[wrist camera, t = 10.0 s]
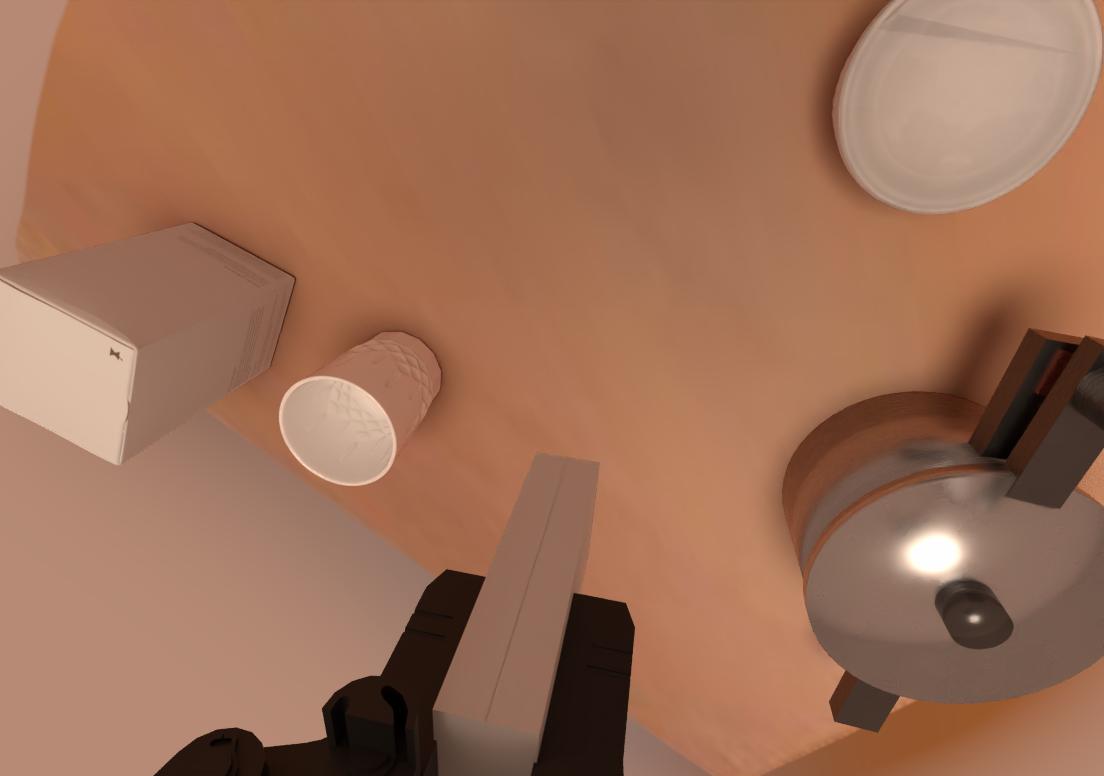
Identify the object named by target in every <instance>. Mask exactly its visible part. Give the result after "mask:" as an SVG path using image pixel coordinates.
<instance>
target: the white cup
mask: <svg viewBox="0 0 1104 776" xmlns="http://www.w3.org/2000/svg"><path fill="white" fill-rule="evenodd" d="M440 386H441V369H440V367H439V365H438V362H437V360H436V357H435V355H434V353H433V352H432V351H431V350H430V349H429V348H428V347H427V346H426V345H425V344H424V343H423V342H422V341H421V340H420V339H418V338H415V337H413V336H411V335H408V334H406V333H404V332H382V333H380V334H378V335H376V336H375V337H373V338H371V339H369V340H368V341H366V342H365V343H363V344H361V345H357V346H355V347H353V348H352V349H350V350H348V351H346V352H345V353H343V354H341V355H340V356H338V357H337V358H335V359H334V360H332V361H330V362H329V363H327V364H326V365H324V366H322V367H321V368H319V369H318V370H316V371H315V372H313V373H312V374H310V375H308V376H307V377H305V378H304V379H302V380H300V381H299V382H297V383H296V384H294V385H293V386H292V387H291V388H290V389H289V390H288V391H287V392H286V394H285V395H284V397H283V399H282V402H281V405H280V410H279V424H280V429H281V433H282V435H283V438H284V440H285V442H286V444H287V446H288V448H289V449H290V451H291V452H292V454H293V455H294V456H295V457H296V459H297V460H298V461H299V462H300V463H301V464H302V465H303V466H304V467H306V468H307V469H308V470H310V471H311V472H312V473H314V474H315V475H317V476H319V477H321V478H323V479H325V480H327V481H330V482H333V483H336V484H341V485H347V486H359V485H365V484H369V483H371V482H374V481H376V480H378V479H379V478H381V477H382V476H383V475H384V474H385V473H386V472H387V471H388V470H389V469H390V467H391V466H392V464H393V463H394V461H395V460H396V458H397V457H398V455H399V454H400V452H401V451H402V449H403V448H404V447H405V445H406V444H407V442H408V441H409V439H410V438H411V436H412V435H413V433H414V432H415V430H416V429H417V427H418V426H419V425H420V423H421V421H422V419H423V418H424V416H425V415H426V413H427V410H428V408H429V406H430V404H431V403H432V401H433V400H434V398H435V397H436V395H437V394H438V392H439V391H440Z"/></svg>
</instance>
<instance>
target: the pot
mask: <svg viewBox="0 0 1104 776" xmlns="http://www.w3.org/2000/svg"><path fill="white" fill-rule="evenodd" d="M1082 340H1083V338H1081V337H1075V336H1070V335H1064V334H1059V333H1054V332H1048V331H1043V330H1037V329H1032V328H1029V329H1028V331H1027V333H1026V335H1025V337H1024V339H1023V340H1022V342H1021V344H1020V346H1019V348H1018V350H1017V352H1016V353H1015V355H1014V357H1013V359H1012V361H1011V363H1010V365H1009V367H1008V368H1007V370H1006V372H1005V374H1004V376H1003V378H1002V380H1001V381H1000V383H999V385H998V387H997V389H996V391H995V393H994V395H993V396H992V398H991V400H990V402H989V404H988V406H987V408H986V409H985V408H984V407H982V406H980V405H978V404H976V403H973V402H971V401H968V400H966V399H963V398H959V397H956V396H952V395H948V394H941V393H934V392H903V393H894V394H889V395H883V396H878V397H875V398H872V399H868V400H865V401H862V402H860V403H857V404H855V405H852V406H850V407H848V408H846V409H844V410H842V411H840V412H838V413H837V414H835V415H833V416H832V417H830V418H829V419H827V420H826V421H824V422H823V423H822V424H820V425H819V426H818V427H817V428H816V429H815V430H814V431H812V432H811V433H810V434H809V435H808V436H807V438H806V439H805V440H804V441H803V442H802V443H801V444H800V446H799V447H798V449H797V450H796V452H795V453H794V455H793V457H792V459H791V461H790V463H789V465H788V467H787V470H786V473H785V477H784V481H783V489H782V500H783V507H784V512H785V516H786V520H787V523H788V527H789V530H790V534H791V537H792V541H793V544H794V548H795V552H796V555H797V559H798V562H799V566H800V569H801V573H802V576H804V571H805V567H806V562H807V560H808V557H809V555H810V552H811V550H812V548H813V546H814V544H815V543H816V541H817V539H818V538H819V536H820V534H821V533H822V532H823V531H824V530H825V528H826V527H827V526H828V525H829V523H830V522H831V521H832V520H833V519H834V518H835V517H836V516H837V515H839V514H840V513H841V512H842V511H843V510H844V509H845V508H847V507H848V506H849V505H851V504H852V503H853V502H855V501H856V500H857V499H859V498H860V497H862V496H864V495H865V494H867V493H869V492H871V491H872V490H874V489H876V488H878V487H880V486H882V485H885V484H887V483H889V482H891V481H894V480H896V479H898V478H902V477H905V476H908V475H911V474H914V473H917V472H921V471H925V470H930V469H934V468H939V467H945V466H953V465H961V464H999V465H1004V464H1005V462H1006V460H1007V459H1008V457H1009V456H1010V454H1011V453H1012V451H1013V449H1014V448H1015V446H1016V445H1017V443H1018V441H1019V440H1020V438H1021V437H1022V435H1023V434H1024V432H1025V430H1026V429H1027V427H1028V426H1029V424H1030V422H1031V421H1032V419H1033V418H1034V416H1035V415H1036V413H1037V411H1038V410H1039V408H1040V407H1041V405H1042V403H1043V402H1044V400H1045V399H1046V397H1047V395H1048V394H1049V392H1050V391H1051V389H1052V388H1053V386H1054V384H1055V383H1056V381H1057V380H1058V378H1059V376H1060V375H1061V373H1062V372H1063V370H1064V369H1065V367H1066V365H1067V364H1068V362H1069V361H1070V359H1071V357H1072V356H1073V354H1074V353H1075V351H1076V350H1077V348H1078V346H1079V345H1080V343H1081V342H1082ZM899 697H900V696H899V695H895V694H892V693H889V692H886V691H883V690H881V689H878V688H876V687H874V686H872V685H869V684H867V683H865V682H864V681H862V680H860V679H858V678H857V677H855V676H853V675H852V674H850V673H849V672H848V671H845V673H844V675H843V676H842V678H841V680H840V682H839V684H838V686H837V688H836V689H835V691H834V693H833V695H832V697H831V699H830V701H829V703H830V707H831V711H832V715H833V718H834V722H838V723H842V724H846V725H850V726H854V727H858V728H862V729H866V730H870V731H874V732H878V731H879V730H880V728H881V726H882V725H883V723H884V721H885V720H886V718H887V717H888V715H889V713H890V712H891V710H892V708H893V707H894V705H895V704H896V702H897V700H898V699H899Z"/></svg>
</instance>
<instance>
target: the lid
mask: <svg viewBox="0 0 1104 776" xmlns="http://www.w3.org/2000/svg"><path fill="white" fill-rule="evenodd" d="M1103 448H1104V340H1103V339H1099V338H1094V337H1090V336H1085V337H1084V338H1083V340H1082V342H1081V343H1080V345H1079V346H1078V348H1077V350H1076V351H1075V353H1074V354H1073V356H1072V357H1071V359H1070V361H1069V362H1068V364H1067V365H1066V367H1065V369H1064V370H1063V372H1062V373H1061V375H1060V376H1059V378H1058V380H1057V381H1056V383H1055V384H1054V386H1053V388H1052V389H1051V391H1050V392H1049V394H1048V395H1047V397H1046V399H1045V400H1044V402H1043V403H1042V405H1041V407H1040V408H1039V410H1038V411H1037V413H1036V415H1035V416H1034V418H1033V419H1032V421H1031V422H1030V424H1029V426H1028V427H1027V429H1026V430H1025V432H1024V434H1023V435H1022V437H1021V438H1020V440H1019V441H1018V443H1017V445H1016V446H1015V448H1014V449H1013V451H1012V453H1011V454H1010V456H1009V457H1008V459H1007V460H1006V462H1005V464H1004V465H999V464H961V465H953V466H945V467H939V468H934V469H930V470H925V471H921V472H917V473H914V474H911V475H908V476H905V477H902V478H898V479H896V480H894V481H891V482H889V483H887V484H885V485H882V486H880V487H878V488H876V489H874V490H872V491H871V492H869V493H867V494H865V495H864V496H862V497H860V498H859V499H857V500H856V501H855V502H853V503H852V504H851V505H849V506H848V507H847V508H845V509H844V510H843V511H842V512H841V513H840V514H839V515H837V516H836V517H835V518H834V519H833V520H832V521H831V522H830V523H829V525H828V526H827V527H826V528H825V530H824V531H823V532H822V533H821V534H820V536H819V538H818V539H817V541H816V543H815V544H814V546H813V548H812V550H811V552H810V555H809V557H808V560H807V562H806V567H805V571H804V576H803V594H804V601H805V606H806V609H807V613H808V617H809V620H810V623H811V626H812V629H813V632H814V634H815V635H816V637H817V639H818V641H819V643H820V644H821V646H822V647H823V648H824V649H825V651H826V652H827V653H828V655H829V656H830V657H831V658H832V659H833V660H834V661H835V662H836V663H837V664H839V665H840V666H841V667H842V668H844V669H845V670H846V671H848V672H849V673H850V674H852V675H853V676H855V677H857V678H858V679H860V680H862V681H864V682H865V683H867V684H869V685H872V686H874V687H876V688H878V689H881V690H883V691H886V692H889V693H892V694H895V695H899V696H902V697H907V698H911V699H916V700H921V701H928V702H936V703H953V704H954V703H955V704H964V703H983V702H993V701H1000V700H1005V699H1011V698H1016V697H1020V696H1023V695H1027V694H1031V693H1034V692H1038V691H1040V690H1043V689H1046V688H1048V687H1051V686H1054V685H1056V684H1059V683H1061V682H1063V681H1065V680H1067V679H1069V678H1071V677H1073V676H1075V675H1077V674H1078V673H1080V672H1081V671H1083V670H1085V669H1086V668H1088V667H1090V666H1091V665H1092V664H1094V663H1095V662H1096V661H1098V660H1099V659H1100V658H1102V657H1103V656H1104V506H1102V505H1101V504H1100V503H1099V502H1098V501H1096V500H1095V499H1094V498H1093V497H1092V496H1091V495H1089V494H1088V493H1086V492H1085V491H1083V490H1081V489H1080V488H1078V487H1076V486H1077V485H1078V483H1079V482H1080V480H1081V479H1082V478H1083V476H1084V475H1085V473H1086V472H1087V471H1088V469H1089V468H1090V466H1091V465H1092V464H1093V462H1094V461H1095V459H1096V458H1097V457H1098V455H1099V454H1100V452H1101V451H1102V450H1103Z"/></svg>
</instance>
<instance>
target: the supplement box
mask: <svg viewBox="0 0 1104 776" xmlns="http://www.w3.org/2000/svg"><path fill="white" fill-rule="evenodd" d="M294 282H295V278H294V277H292V276H290V275H289V274H287V273H285V272H283V271H281V270H279V269H278V268H276V267H274V266H272V265H270V264H268V263H267V262H265V261H263V260H261V259H259V258H257V257H255V256H254V255H252V254H250V253H248V252H246V251H244V250H243V249H241V248H239V247H237V246H235V245H233V244H232V243H230V242H228V241H226V240H224V239H222V238H221V237H219V236H217V235H215V234H213V233H211V232H210V231H208V230H206V229H204V228H202V227H200V226H198V225H196V224H194V223H187V224H183V225H179V226H175V227H171V228H167V229H162V230H158V231H154V232H150V233H146V234H142V235H138V236H134V237H130V238H126V239H122V240H118V241H114V242H110V243H105V244H101V245H97V246H93V247H89V248H85V249H81V250H77V251H73V252H69V253H64V254H60V255H56V256H51V257H47V258H43V259H39V260H35V261H30V262H26V263H22V264H18V265H14V266H10V267H6V268H2V269H0V405H1V406H3V407H5V408H7V409H9V410H11V411H13V412H15V413H16V414H18V415H20V416H23V417H25V418H27V419H29V420H31V421H33V422H35V423H37V424H39V425H41V426H42V427H44V428H46V429H48V430H50V431H52V432H54V433H56V434H58V435H60V436H62V437H64V438H65V439H67V440H69V441H71V442H73V443H74V444H76V445H78V446H80V447H82V448H84V449H85V450H87V451H89V452H91V453H93V454H95V455H97V456H99V457H101V458H103V459H105V460H107V461H109V462H111V463H113V464H115V465H119V466H120V465H121V464H123V463H124V462H126V461H127V460H129V459H130V458H132V457H134V456H135V455H137V454H138V453H140V452H141V451H143V450H144V449H146V448H147V447H149V446H150V445H152V444H153V443H155V442H156V441H158V440H159V439H161V438H163V437H164V436H166V435H167V434H169V433H170V432H172V431H173V430H175V429H176V428H178V427H179V426H181V425H182V424H184V423H185V422H187V421H188V420H190V419H191V418H193V417H195V416H196V415H197V414H199V413H201V412H202V411H204V410H205V409H207V408H208V407H210V406H211V405H213V404H214V403H216V402H218V401H219V400H221V399H222V398H224V397H225V396H227V395H228V394H230V393H231V392H233V391H234V390H236V389H237V388H239V387H240V386H242V385H244V384H245V383H247V382H248V381H250V380H251V379H253V378H254V377H256V376H257V375H259V374H260V373H262V372H264V371H265V370H267V369H268V368H269V367H270V365H271V361H272V358H273V354H274V351H275V347H276V344H277V341H278V337H279V334H280V330H281V327H282V323H283V320H284V317H285V313H286V310H287V306H288V303H289V299H290V296H291V292H292V289H293V285H294Z"/></svg>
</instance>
